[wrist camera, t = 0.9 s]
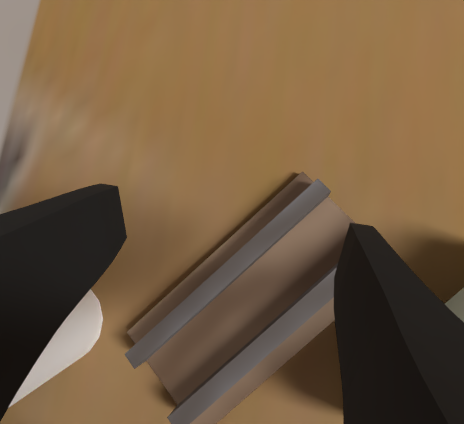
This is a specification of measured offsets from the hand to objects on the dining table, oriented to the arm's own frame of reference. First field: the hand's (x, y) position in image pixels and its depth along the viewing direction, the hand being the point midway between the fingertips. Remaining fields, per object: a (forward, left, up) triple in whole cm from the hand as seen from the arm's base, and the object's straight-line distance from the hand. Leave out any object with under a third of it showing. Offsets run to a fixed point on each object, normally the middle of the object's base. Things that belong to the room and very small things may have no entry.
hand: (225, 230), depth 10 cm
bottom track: (-2, +3, -14) cm, 15 cm away
